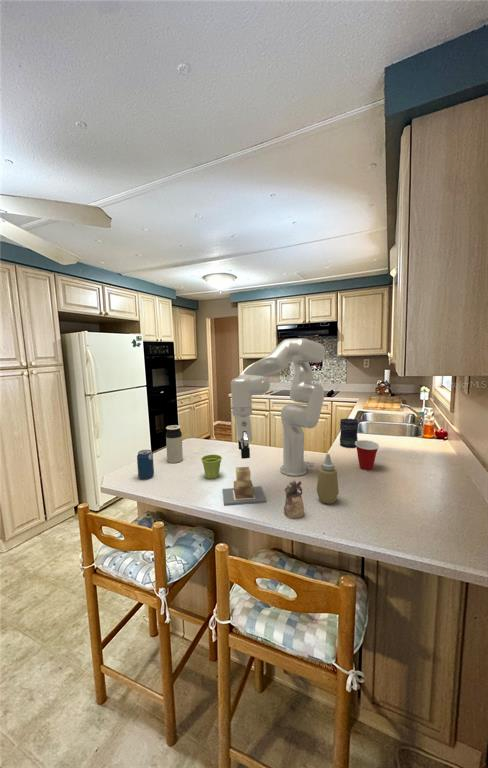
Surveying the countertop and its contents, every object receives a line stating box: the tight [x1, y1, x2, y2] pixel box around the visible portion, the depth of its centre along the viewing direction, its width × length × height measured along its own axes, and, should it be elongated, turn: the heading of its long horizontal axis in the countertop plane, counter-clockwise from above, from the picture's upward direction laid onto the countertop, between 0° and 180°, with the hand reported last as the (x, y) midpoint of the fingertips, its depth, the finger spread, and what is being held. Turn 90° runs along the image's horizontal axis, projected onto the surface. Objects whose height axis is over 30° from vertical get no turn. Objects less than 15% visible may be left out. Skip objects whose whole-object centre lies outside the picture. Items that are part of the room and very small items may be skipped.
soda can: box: [136, 449, 155, 480], centre depth 141 cm, size 7×7×12 cm
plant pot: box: [200, 454, 223, 480], centre depth 140 cm, size 9×9×9 cm
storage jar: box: [339, 418, 359, 449], centre depth 179 cm, size 10×10×15 cm
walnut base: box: [233, 480, 254, 499], centre depth 121 cm, size 7×7×4 cm
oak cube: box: [235, 466, 252, 488], centre depth 120 cm, size 5×5×6 cm
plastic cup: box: [355, 439, 380, 471], centre depth 146 cm, size 11×11×12 cm
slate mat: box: [222, 485, 267, 506], centre depth 121 cm, size 16×12×1 cm
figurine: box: [283, 480, 305, 520], centre depth 108 cm, size 7×7×12 cm
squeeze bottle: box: [316, 453, 340, 505], centre depth 116 cm, size 8×8×18 cm
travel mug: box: [165, 424, 184, 464], centre depth 160 cm, size 8×8×18 cm
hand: (244, 453), depth 120 cm, fingers open, 9 cm apart
